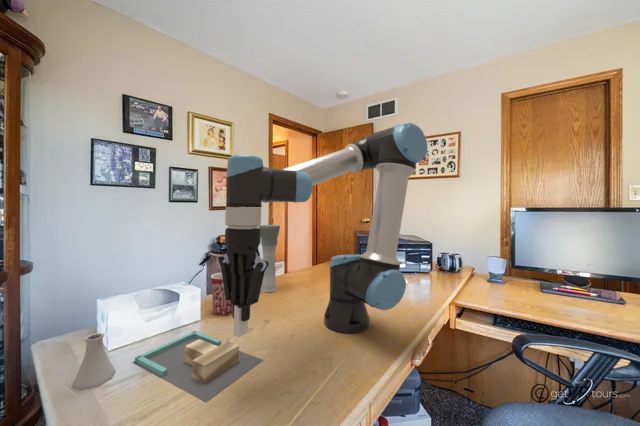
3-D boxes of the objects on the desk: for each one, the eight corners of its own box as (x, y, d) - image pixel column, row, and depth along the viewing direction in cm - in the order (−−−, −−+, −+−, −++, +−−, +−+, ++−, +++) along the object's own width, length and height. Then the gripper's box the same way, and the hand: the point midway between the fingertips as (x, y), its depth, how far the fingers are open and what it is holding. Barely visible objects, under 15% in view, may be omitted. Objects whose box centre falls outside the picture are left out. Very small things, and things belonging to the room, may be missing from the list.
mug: (236, 315, 96) (237, 277, 96) (209, 317, 94) (209, 279, 93) (236, 302, 108) (236, 269, 108) (212, 304, 106) (212, 270, 105)
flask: (89, 371, 63) (89, 329, 63) (122, 370, 63) (122, 328, 63) (62, 393, 56) (62, 345, 55) (100, 391, 56) (100, 344, 56)
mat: (263, 361, 68) (263, 355, 68) (206, 404, 53) (206, 396, 53) (193, 335, 81) (193, 329, 81) (131, 363, 66) (131, 357, 66)
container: (262, 286, 130) (263, 224, 130) (281, 287, 129) (282, 225, 128) (255, 292, 121) (255, 225, 120) (275, 294, 120) (276, 226, 119)
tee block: (238, 361, 67) (239, 345, 67) (204, 383, 58) (204, 365, 58) (208, 349, 73) (209, 334, 72) (173, 368, 64) (173, 351, 64)
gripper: (277, 228, 59) (274, 334, 60) (234, 224, 66) (232, 321, 66) (254, 230, 53) (250, 349, 53) (208, 226, 59) (206, 333, 59)
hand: (240, 333), depth 60 cm, fingers closed
